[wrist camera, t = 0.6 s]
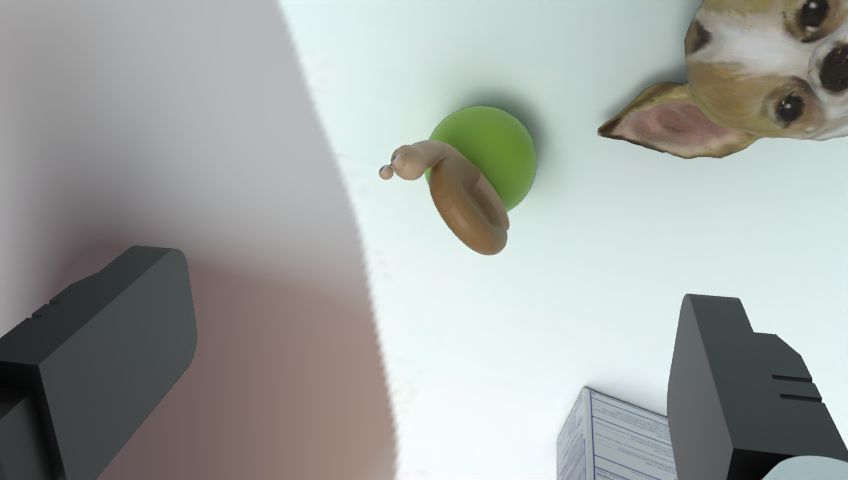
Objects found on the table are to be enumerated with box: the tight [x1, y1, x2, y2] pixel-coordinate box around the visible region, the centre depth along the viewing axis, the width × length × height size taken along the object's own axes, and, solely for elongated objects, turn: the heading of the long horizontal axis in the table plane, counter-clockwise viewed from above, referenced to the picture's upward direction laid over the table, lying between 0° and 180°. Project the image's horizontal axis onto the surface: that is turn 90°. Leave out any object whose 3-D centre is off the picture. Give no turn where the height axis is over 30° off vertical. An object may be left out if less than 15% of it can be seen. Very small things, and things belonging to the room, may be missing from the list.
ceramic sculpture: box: [597, 0, 848, 159], centre depth 31 cm, size 11×9×15 cm
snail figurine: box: [379, 106, 537, 255], centre depth 33 cm, size 5×6×12 cm
